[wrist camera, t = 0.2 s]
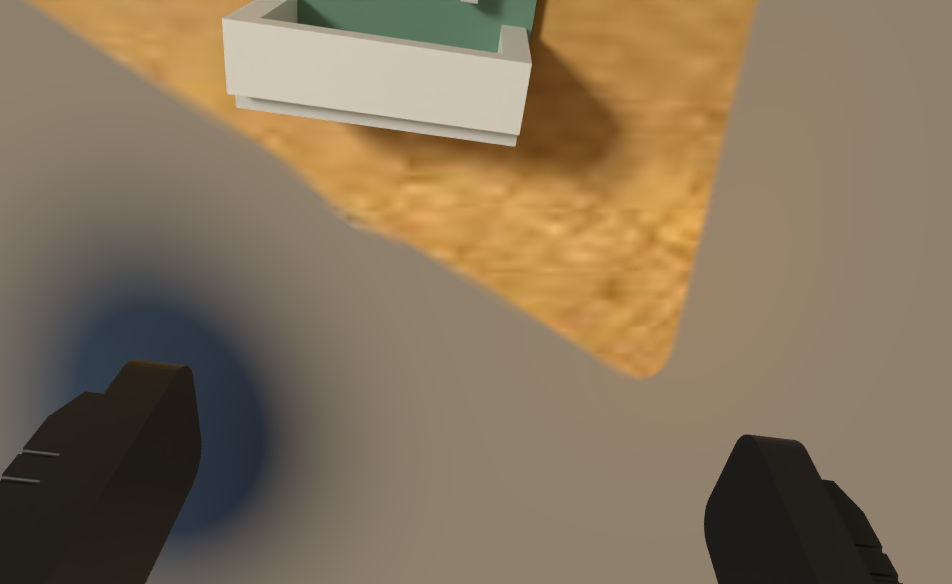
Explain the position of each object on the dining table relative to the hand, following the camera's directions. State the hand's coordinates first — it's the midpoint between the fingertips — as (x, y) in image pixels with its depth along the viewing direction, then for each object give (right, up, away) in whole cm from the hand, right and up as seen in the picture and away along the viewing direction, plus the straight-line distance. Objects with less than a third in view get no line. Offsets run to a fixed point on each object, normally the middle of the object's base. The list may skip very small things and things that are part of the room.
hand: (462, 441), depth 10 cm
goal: (-4, +15, +24) cm, 29 cm away
